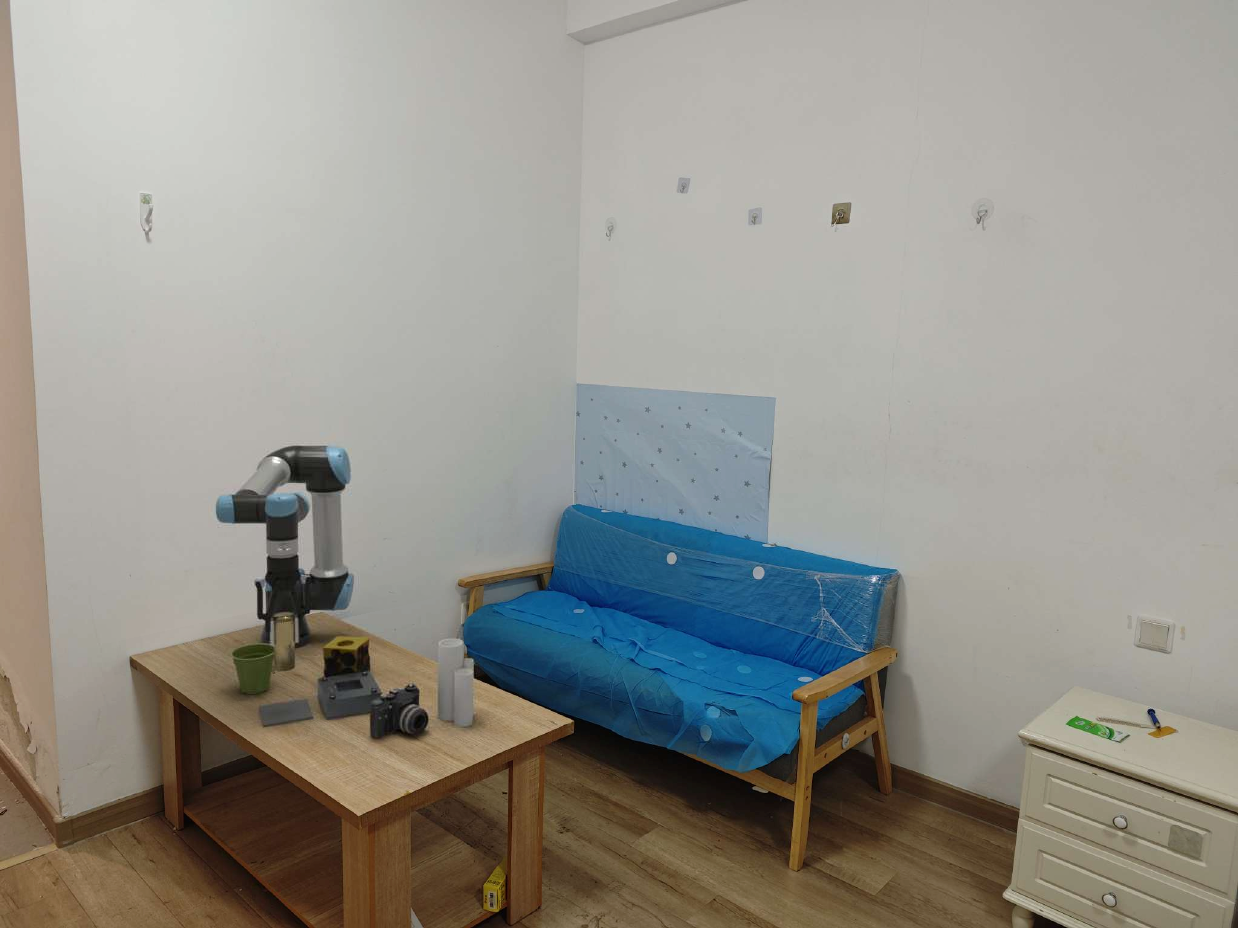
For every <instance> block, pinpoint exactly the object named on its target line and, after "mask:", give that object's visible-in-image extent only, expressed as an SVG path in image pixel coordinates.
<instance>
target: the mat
mask: <svg viewBox="0 0 1238 928" xmlns="http://www.w3.org/2000/svg"><path fill="white" fill-rule="evenodd" d="M258 710H259V714H260V719H261V725H262V727H263V728H266V727H272V726H278V725H279V726H280V725H284V724H285V725H286V724H290V723H297V722H302V721H310V720H313V719H314V714H313V712H312V708H311V706H310V703H309V701H308V698H301V699H296V700H295V699H294V700H290V701H289V700H288V701H284V702H283V701H281V702H277V703H270V704H264V705H258Z"/></svg>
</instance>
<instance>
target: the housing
mask: <svg viewBox="0 0 1238 928" xmlns="http://www.w3.org/2000/svg"><path fill="white" fill-rule="evenodd" d="M316 684H317V697H318V702H319V703H320V706H321V708H322V711H323V713H324V716H325V718H326V720H334V719H339V718H341V719H342V718H345V717H352V716H357V715H363V714H370V704H371V702H372V701H373V700H375V699H377V698H380V697H381V695H382V694H383V691H382V690H381V688H380V687H379V684H378V683H377V681H376V679H375V678H374V676H373V673H372V672H371V671H370V670H369V671H362V672H359V673H352V674H345V675H338V676H332V677H324V676H322V677H320V678H317V683H316Z"/></svg>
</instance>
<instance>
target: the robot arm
mask: <svg viewBox="0 0 1238 928" xmlns="http://www.w3.org/2000/svg"><path fill="white" fill-rule="evenodd" d="M351 472H352V470H351V462H350V457H349V454H348V453H347V451H346V449H345V448H343V447H341V446H333V445H332V446H331V445H289V446H285V447H282V448H279V449H277V450H274V451H273V452H271V453H269V454H267V455H266V456H265V457H264V458H262V459H261V460H260V461H259V463H258V465H257V467H256V471H255V472H254V473H253V474H252V475H251V477H249V478H248V480H247V481H246V482H245V483H244V484H243V485H241V487H240V488H239V490H237V491H236V493H235V494H232V493H229V494H221V495H219V496H218V498H217V500H216V502H215V503H216V504H215V515H216V519H217V520H218V522H219V523H221V524H222V523H223V524H232V525H235V524H239V525H240V524H242V525H243V524H244V525H245V524H246V525H247V524H261V525H262V524H264V525H265V528H266V529H265V533H266V535H265V536H266V539H265V540H266V542H265V543H266V549H265V551H266V555H267V557H266V573H265V576H264V577H263V578H260V579H255V580H254V582H253V583H254V586H255V588H256V616H257V619H258V620H263V621H264V625H263V629H262V631H261V634H260V643H265V644H271V646H274V620H273V616H274V615H275V614H277V613H283V612H290V613H294V615H295V618H294V625H295V648H298V647H303V646H305V645H306V644H308V643H310V642H311V641H312V633H311V631H312V630H311V629H310V626H309V624H308V620H307V618H306V615H310V613H311V611H332V612H334V611H344V610H346V609H348V607H349V606H350V604H351V601H352V596H353V590H354V584H355V576H354V574H353V573H351V572H350V573H349V567H348V566H347V565H345V564H344V559H343V558H344V557H343V556H344V555H343V531H342V529H343V528H342V527H343V526H342V501H341V500H342V499H341V498H342V495H341V494H342V493H343V491H345V489H346V485H348V484H350V482H351V479H352V478H351V477H352V476H351V475H352V474H351ZM285 484H305V491H306V492H308V493H309V494H310V495H311V505H310V502H309V499H308V498H307V497H306V495H304V494H302V493H299V492H291V493H289V492H278V493H275V492H276V491H277V490H278V488H280V487H282V486H284V485H285ZM310 508H311V512H312V517H311V518H312V534H313V535H312V536H313V537H312V539H313V557H314V559H313V560H314V565H313V567H311V569H310V570H309V573H306V571H305V570H304V568H301V567H300V565H299V561H300V559H299V556H300V555H299V554H298V553H299V523H300V522H301V521H303V520H305V518H306V517H307V516H308V514H309V513H310ZM264 593H265V613H264Z"/></svg>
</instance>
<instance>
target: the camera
mask: <svg viewBox="0 0 1238 928" xmlns="http://www.w3.org/2000/svg"><path fill="white" fill-rule="evenodd" d="M429 719H430V718H429V715H428V712H427V711H426V710H425V709H424V708H422V707H421V706H420V689H419V688H418V686H417V685H416V684H415V683H408V684H406V685H405V686H404V688H400V687H397V686H396V687H395V688H393V689H390V690H389V692H388V693H387V694H386V695H385V694H383V693H382V695H381V697H380V698H377V699H375V700H373V701H372V702H371V704H370V713H369V732H370V734H369V735H370V737H371V738H372V739H375V740H378V739H379V740H380V739H381V738H382V737H385V736H387V735H390V734H391V733H394V732H396V731H398V730H401V731H402V732H404V733H406V734H407V733H409V734H411V735H416V734H421V733H423V732H424V731H425V729H426V728H427V727H428V724H429Z"/></svg>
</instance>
